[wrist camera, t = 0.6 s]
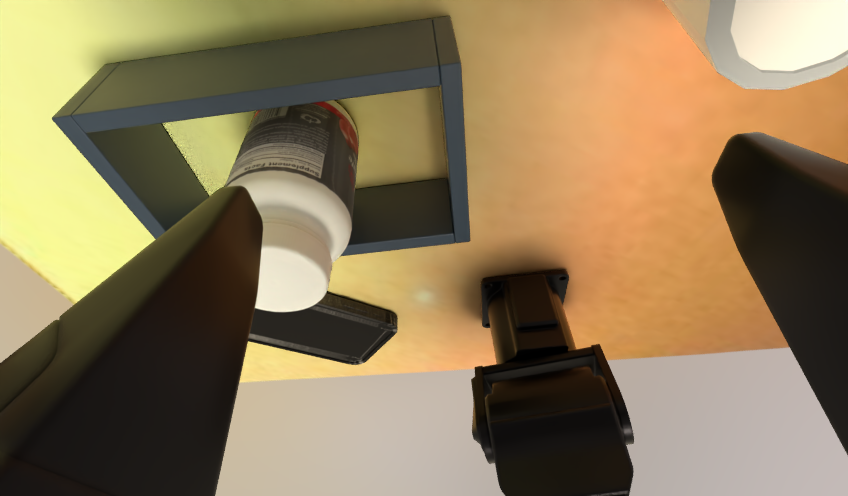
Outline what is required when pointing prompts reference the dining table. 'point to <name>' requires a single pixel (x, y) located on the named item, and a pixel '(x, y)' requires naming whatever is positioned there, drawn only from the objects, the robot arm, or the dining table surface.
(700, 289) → the dining table surface
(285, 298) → the pill bottle
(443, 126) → the bin
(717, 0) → the white cup
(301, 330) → the phone
